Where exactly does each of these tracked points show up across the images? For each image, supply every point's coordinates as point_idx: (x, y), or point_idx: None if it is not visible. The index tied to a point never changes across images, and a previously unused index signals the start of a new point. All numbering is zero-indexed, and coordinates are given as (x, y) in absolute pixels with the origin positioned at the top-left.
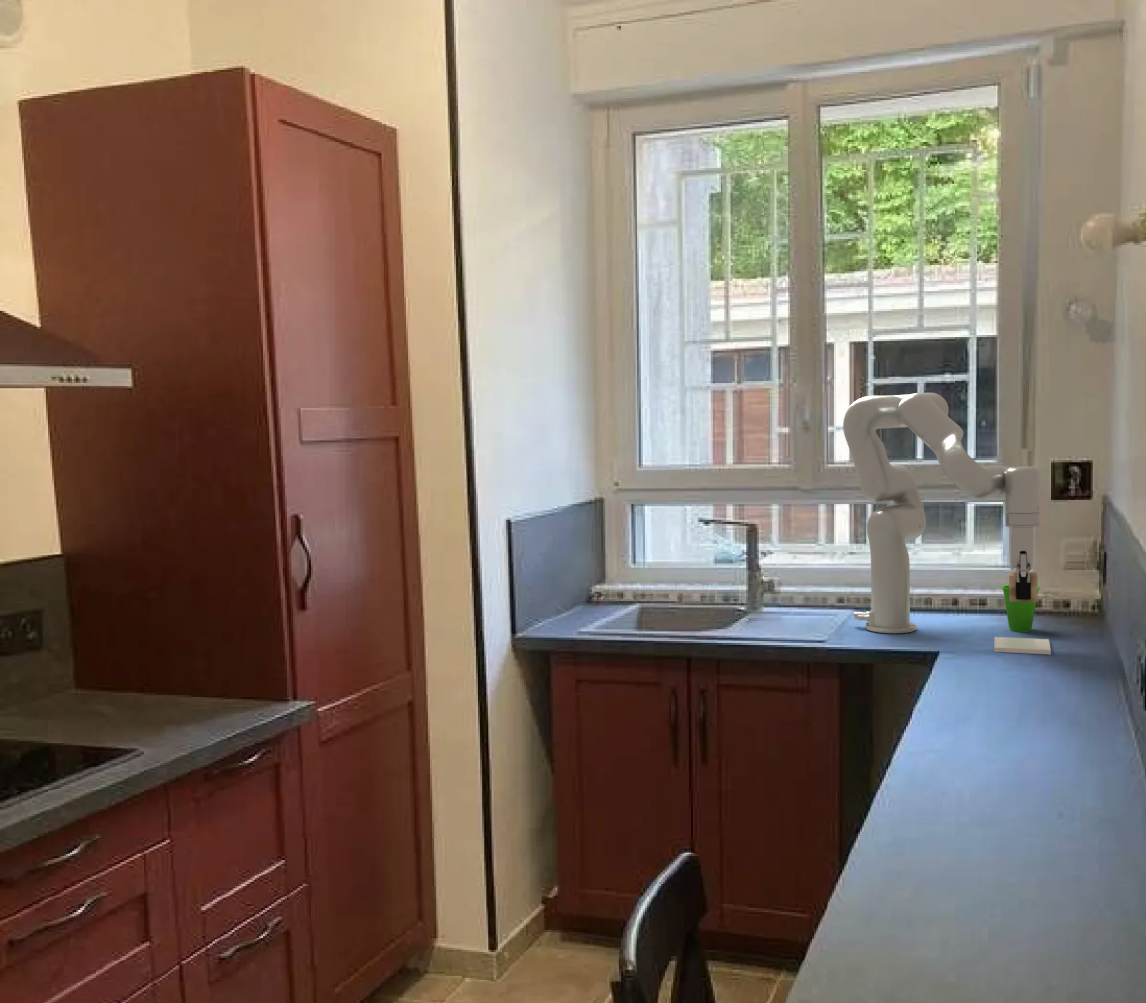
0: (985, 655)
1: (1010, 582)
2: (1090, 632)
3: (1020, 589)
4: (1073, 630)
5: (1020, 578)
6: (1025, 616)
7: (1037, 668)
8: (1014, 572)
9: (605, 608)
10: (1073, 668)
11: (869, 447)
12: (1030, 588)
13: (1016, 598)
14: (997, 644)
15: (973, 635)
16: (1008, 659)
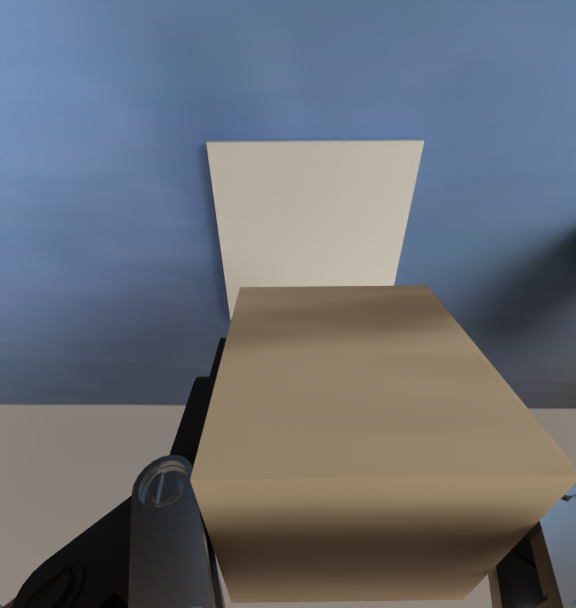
0: (130, 102)
1: (213, 406)
2: (526, 394)
3: (185, 416)
4: (562, 366)
5: (94, 532)
6: None
7: (33, 277)
8: (510, 512)
9: None
10: (92, 350)
11: None
12: None
13: (220, 340)
14: (270, 155)
15: (558, 24)
16: (106, 195)
